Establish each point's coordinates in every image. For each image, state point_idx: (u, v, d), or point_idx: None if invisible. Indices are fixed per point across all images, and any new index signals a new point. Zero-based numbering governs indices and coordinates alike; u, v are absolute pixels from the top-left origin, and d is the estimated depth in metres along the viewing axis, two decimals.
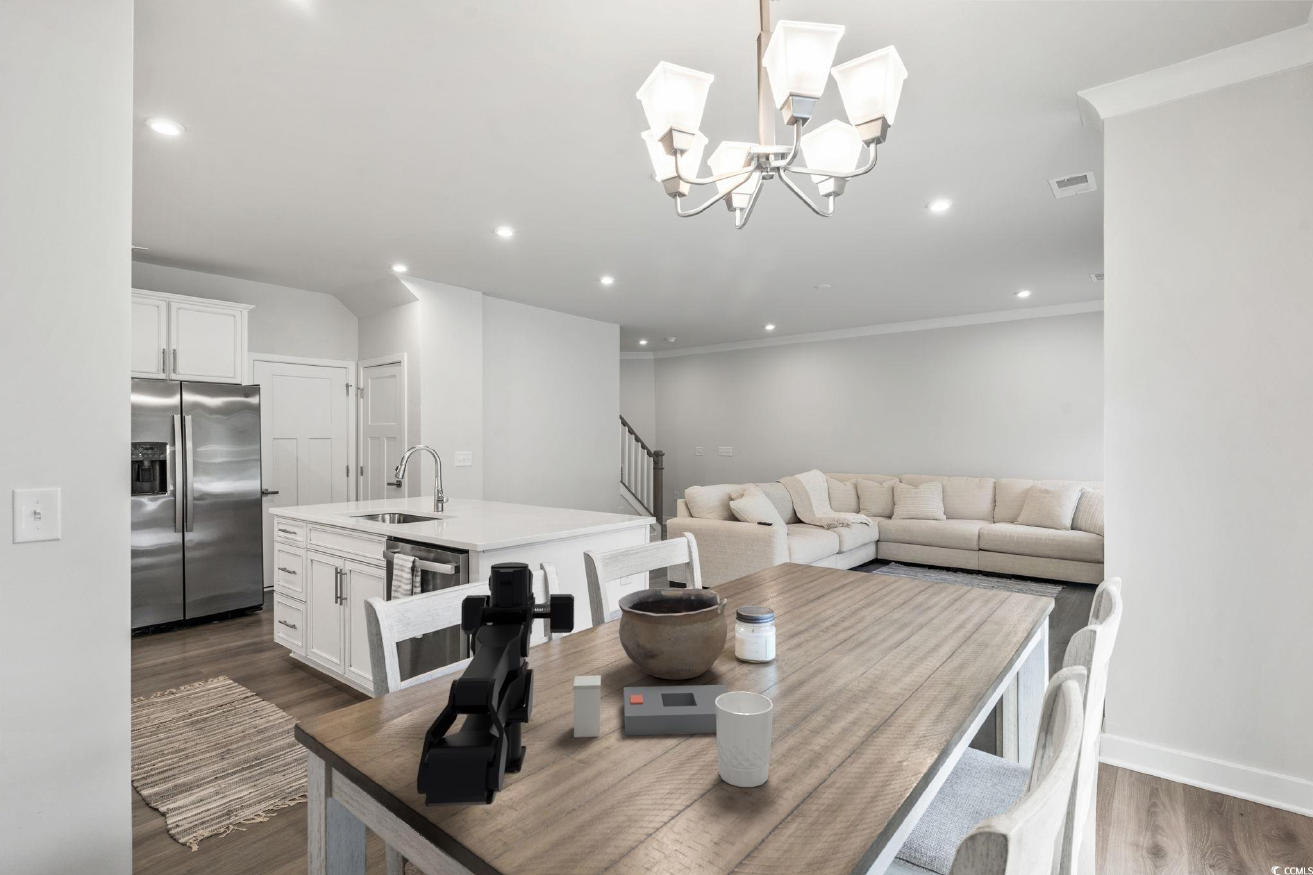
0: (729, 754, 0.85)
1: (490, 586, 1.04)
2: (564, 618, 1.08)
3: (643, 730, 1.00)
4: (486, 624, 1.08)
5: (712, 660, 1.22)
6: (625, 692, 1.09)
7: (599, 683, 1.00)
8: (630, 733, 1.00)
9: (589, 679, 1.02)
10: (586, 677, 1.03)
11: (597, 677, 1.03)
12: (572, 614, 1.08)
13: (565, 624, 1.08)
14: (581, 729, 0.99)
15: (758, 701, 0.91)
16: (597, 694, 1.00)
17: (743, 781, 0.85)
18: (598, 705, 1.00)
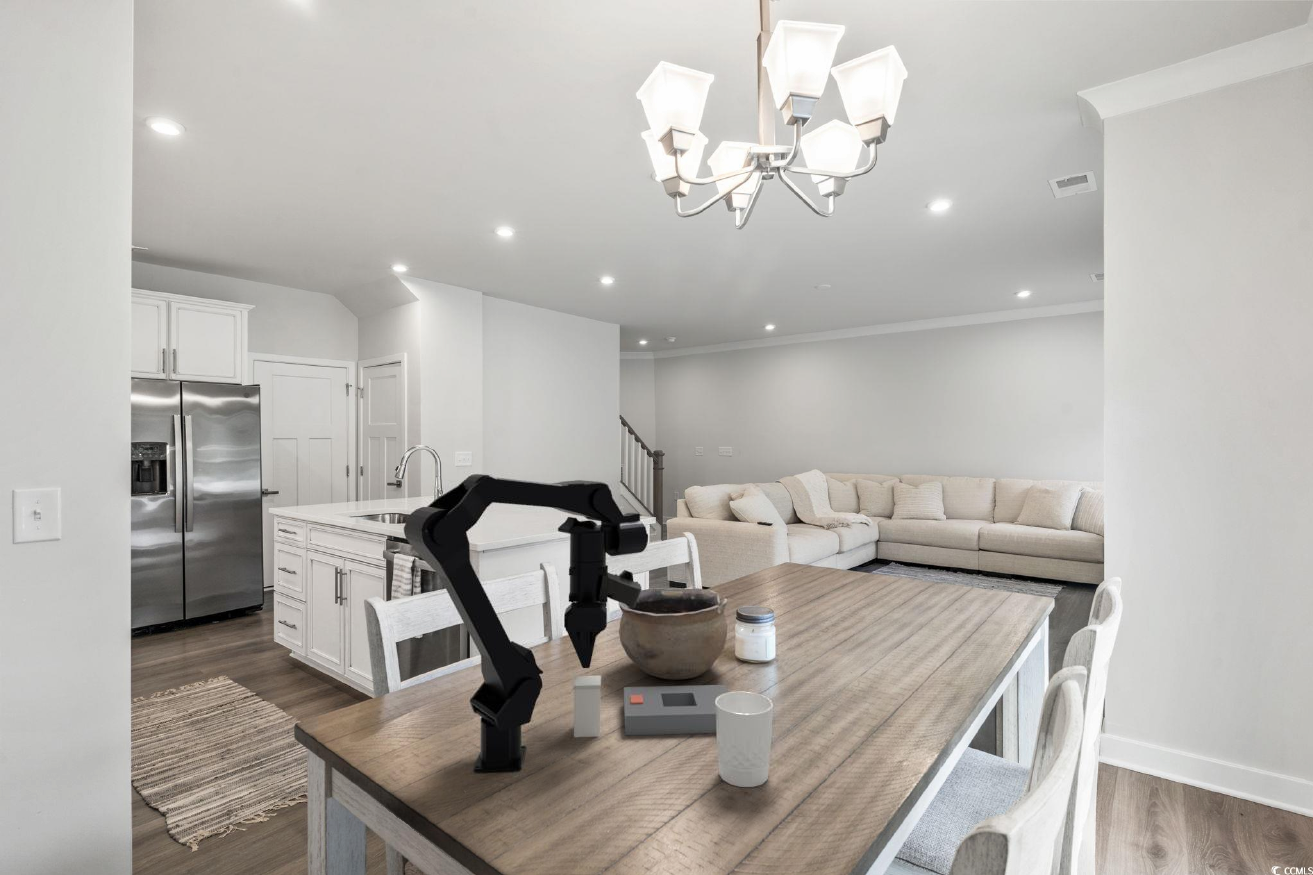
0: (729, 754, 0.85)
1: (623, 571, 1.06)
2: (582, 606, 0.94)
3: (643, 730, 1.00)
4: None
5: (712, 660, 1.22)
6: (625, 692, 1.09)
7: (599, 683, 1.00)
8: (630, 733, 1.00)
9: (589, 679, 1.02)
10: (586, 677, 1.03)
11: (597, 677, 1.03)
12: (586, 611, 0.93)
13: (575, 607, 0.93)
14: (581, 729, 0.99)
15: (758, 701, 0.91)
16: (598, 694, 1.00)
17: (743, 781, 0.85)
18: (598, 705, 1.00)
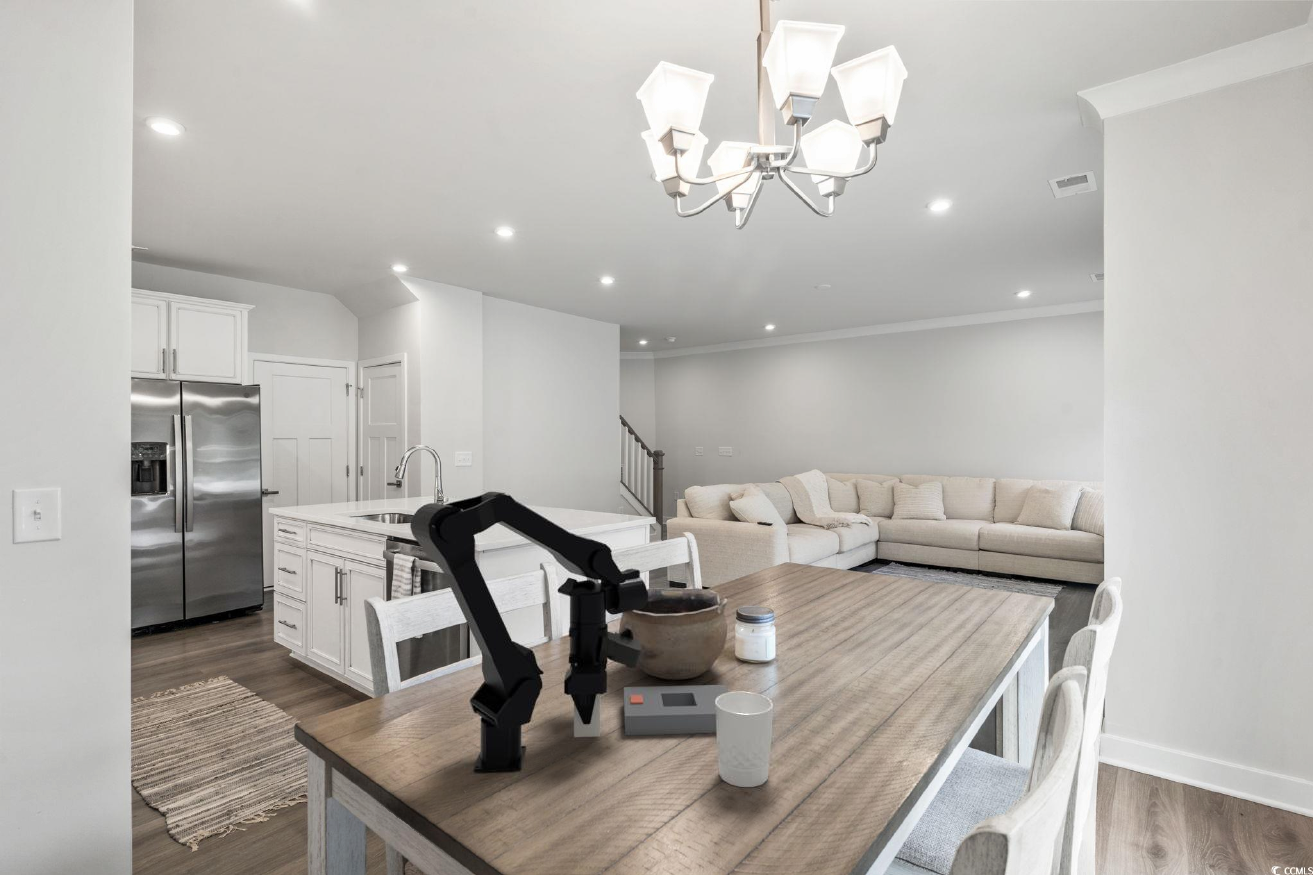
0: (729, 754, 0.85)
1: (623, 628, 1.06)
2: (582, 671, 0.94)
3: (643, 730, 1.00)
4: None
5: (712, 660, 1.22)
6: (625, 692, 1.09)
7: None
8: (630, 733, 1.00)
9: None
10: None
11: None
12: (586, 677, 0.92)
13: (575, 672, 0.93)
14: (581, 729, 0.99)
15: (758, 701, 0.91)
16: (598, 694, 1.00)
17: (743, 781, 0.85)
18: (598, 705, 1.00)
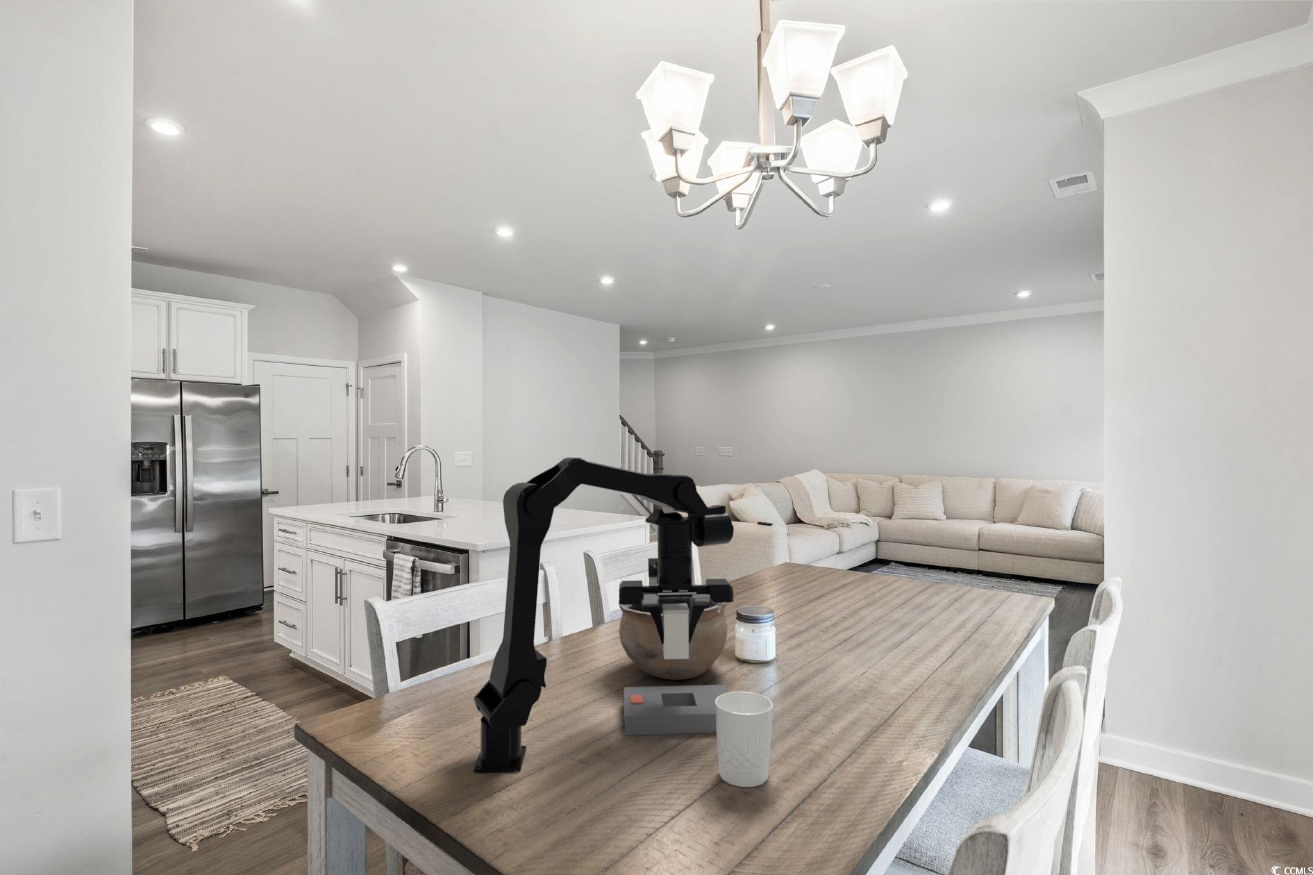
0: (729, 754, 0.85)
1: (650, 559, 1.12)
2: (722, 582, 1.06)
3: (643, 730, 1.00)
4: (658, 592, 1.05)
5: (712, 660, 1.22)
6: (625, 692, 1.09)
7: None
8: (630, 733, 1.00)
9: (672, 606, 1.07)
10: (666, 607, 1.06)
11: (667, 604, 1.08)
12: (729, 583, 1.07)
13: (724, 583, 1.05)
14: None
15: (758, 701, 0.91)
16: None
17: (743, 781, 0.85)
18: None
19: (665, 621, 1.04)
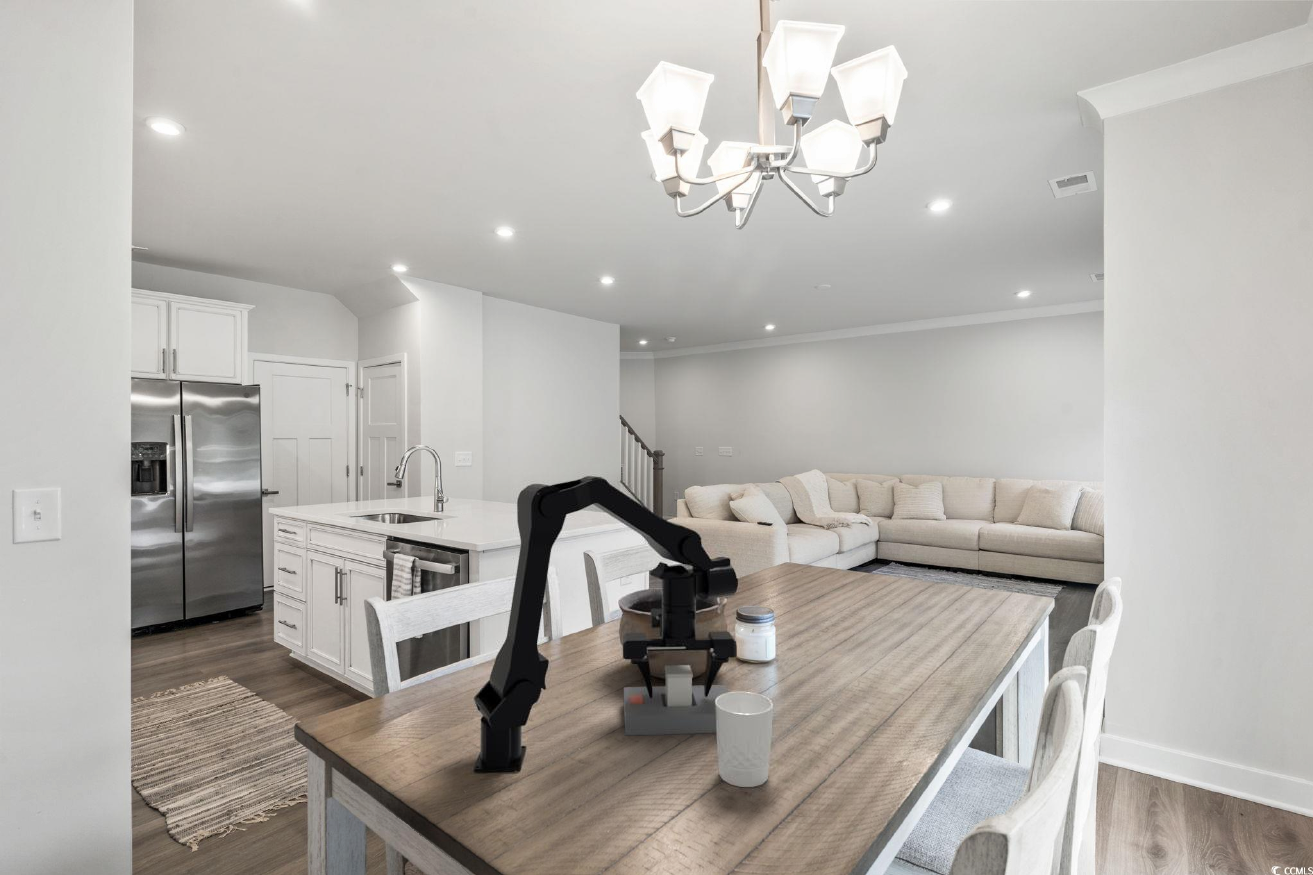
0: (729, 754, 0.85)
1: (652, 610, 1.12)
2: (725, 635, 1.07)
3: (643, 730, 1.00)
4: (647, 647, 1.05)
5: None
6: (625, 692, 1.09)
7: (685, 665, 1.09)
8: (630, 733, 1.00)
9: (676, 669, 1.07)
10: (669, 670, 1.06)
11: (670, 666, 1.08)
12: (732, 637, 1.07)
13: (728, 637, 1.06)
14: None
15: (758, 701, 0.91)
16: None
17: (743, 781, 0.85)
18: None
19: (669, 685, 1.04)
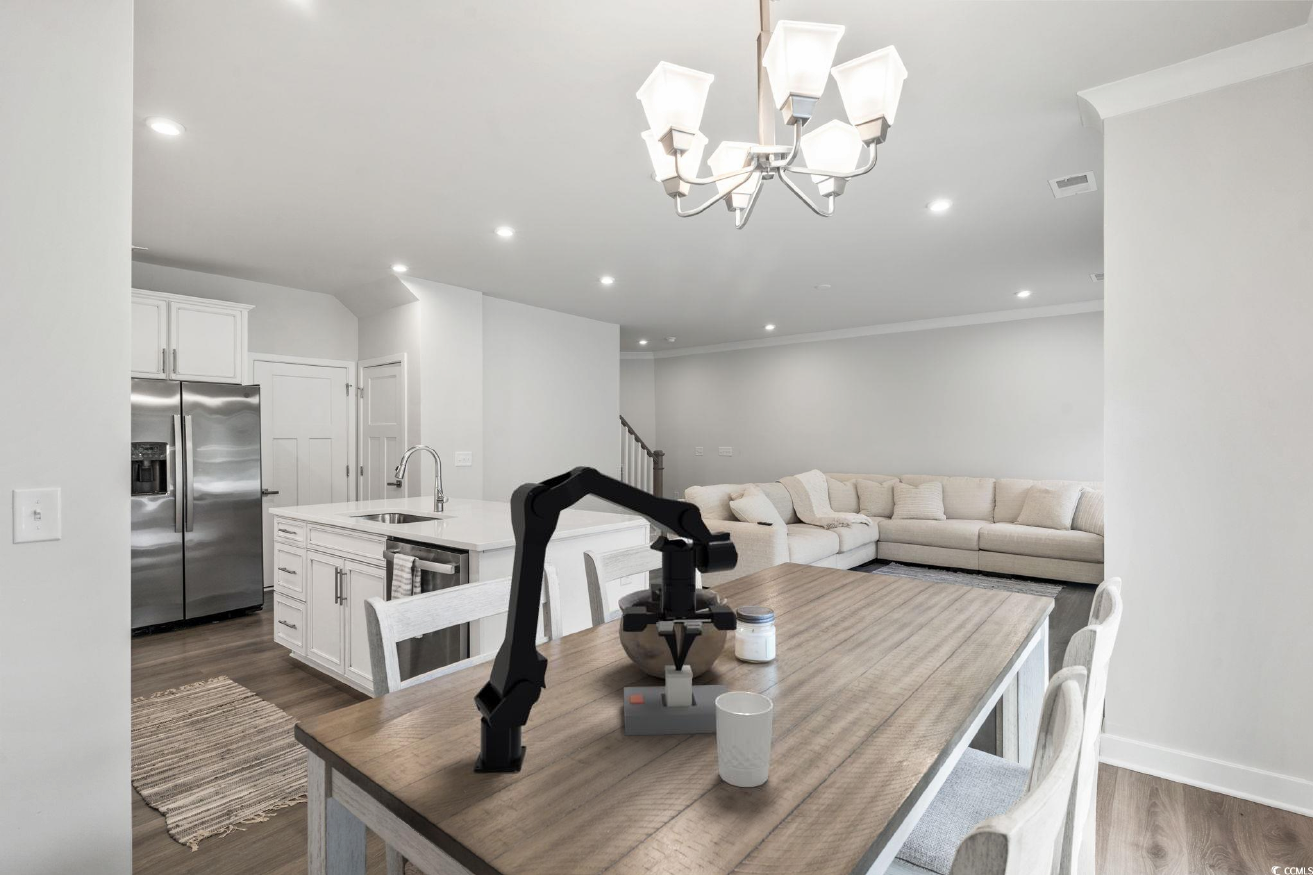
0: (729, 754, 0.85)
1: (652, 585, 1.12)
2: (725, 609, 1.07)
3: (643, 730, 1.00)
4: (674, 619, 1.05)
5: (712, 660, 1.22)
6: (625, 692, 1.09)
7: (685, 665, 1.09)
8: (630, 733, 1.00)
9: None
10: (669, 670, 1.06)
11: (670, 666, 1.08)
12: (732, 610, 1.07)
13: (728, 610, 1.06)
14: None
15: (758, 701, 0.91)
16: None
17: (743, 781, 0.85)
18: None
19: (669, 685, 1.04)
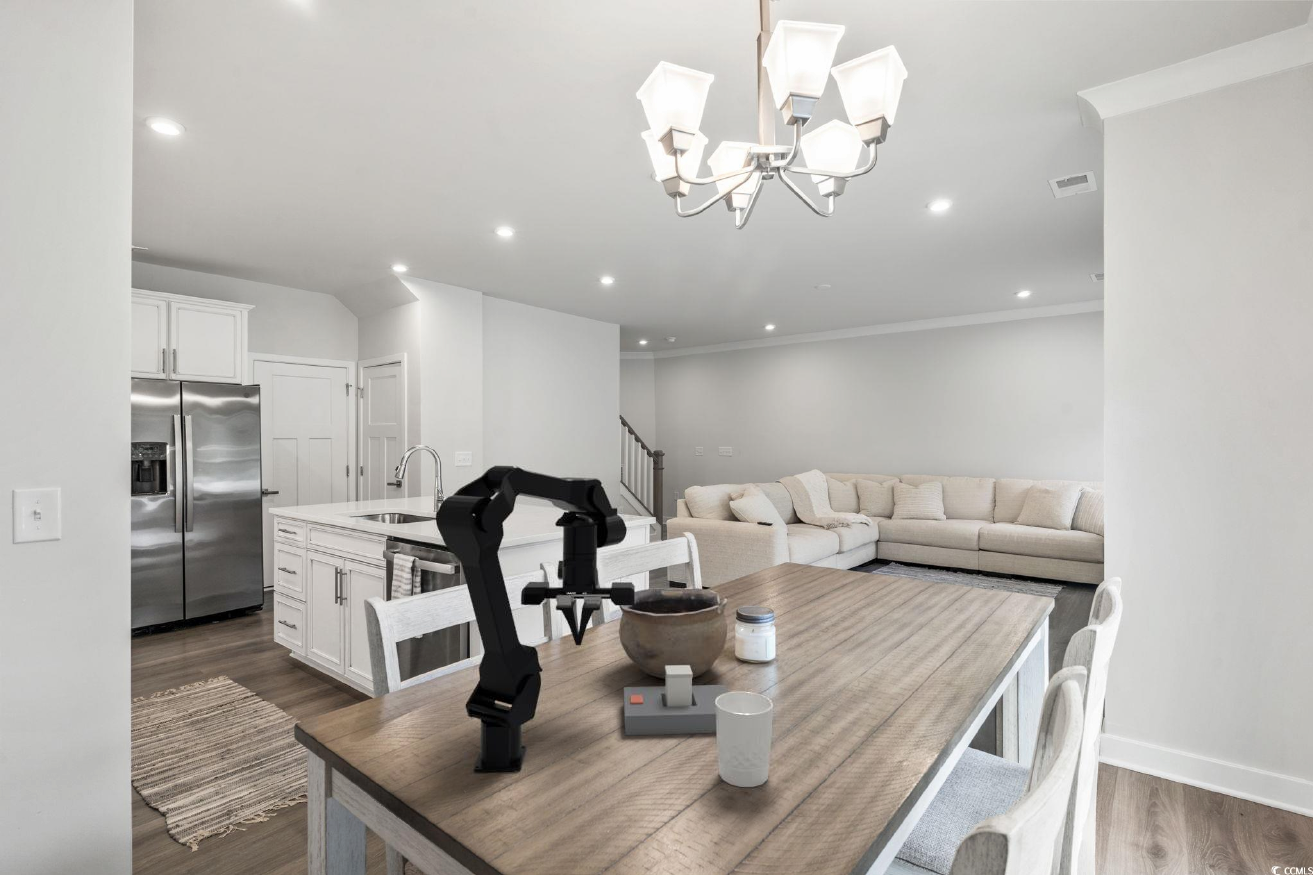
0: (729, 754, 0.85)
1: (560, 561, 1.14)
2: (626, 585, 1.08)
3: (643, 730, 1.00)
4: (572, 594, 1.06)
5: (712, 660, 1.22)
6: (625, 692, 1.09)
7: (685, 665, 1.09)
8: (630, 733, 1.00)
9: (676, 669, 1.07)
10: (669, 670, 1.06)
11: (670, 666, 1.08)
12: (633, 587, 1.08)
13: (627, 586, 1.07)
14: None
15: (758, 701, 0.91)
16: None
17: (743, 781, 0.85)
18: None
19: (669, 685, 1.04)
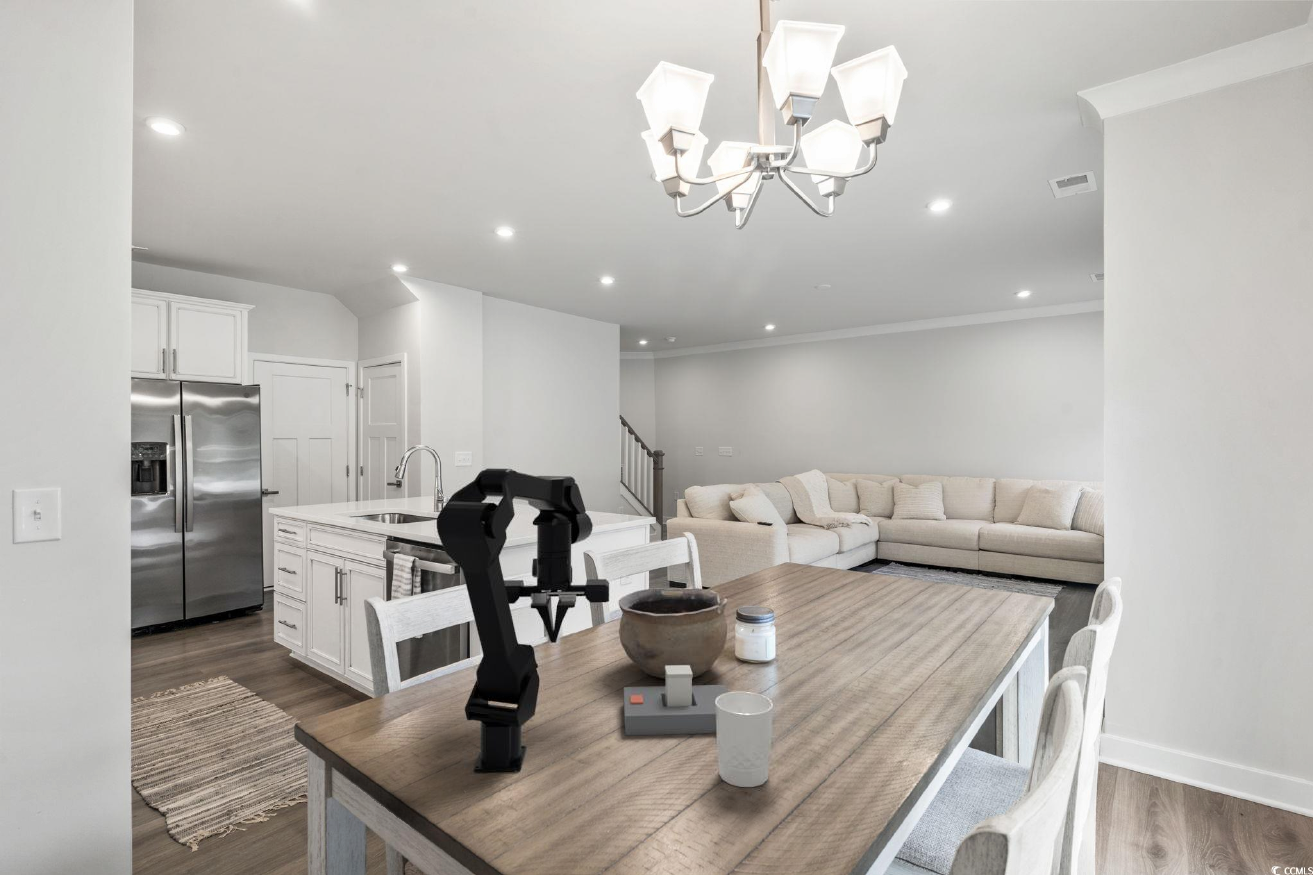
0: (729, 754, 0.85)
1: (534, 559, 1.14)
2: (600, 582, 1.08)
3: (643, 730, 1.00)
4: (547, 592, 1.07)
5: (712, 660, 1.22)
6: (625, 692, 1.09)
7: (685, 665, 1.09)
8: (630, 733, 1.00)
9: (676, 669, 1.07)
10: (669, 670, 1.06)
11: (670, 666, 1.08)
12: (608, 583, 1.09)
13: (601, 583, 1.07)
14: None
15: (758, 701, 0.91)
16: None
17: (743, 781, 0.85)
18: None
19: (669, 685, 1.04)
